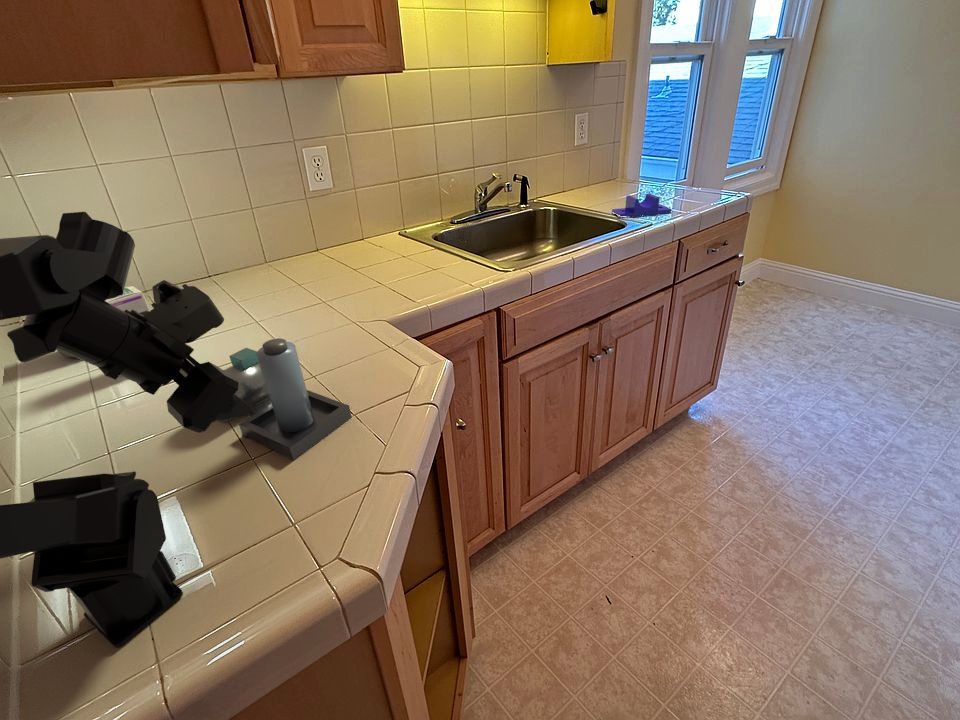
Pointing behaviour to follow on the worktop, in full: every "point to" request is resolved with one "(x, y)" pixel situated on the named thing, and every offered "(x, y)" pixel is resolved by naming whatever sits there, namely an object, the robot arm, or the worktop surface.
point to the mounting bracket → (642, 207)
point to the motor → (263, 417)
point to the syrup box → (130, 300)
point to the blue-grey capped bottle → (285, 384)
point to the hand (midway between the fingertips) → (229, 394)
